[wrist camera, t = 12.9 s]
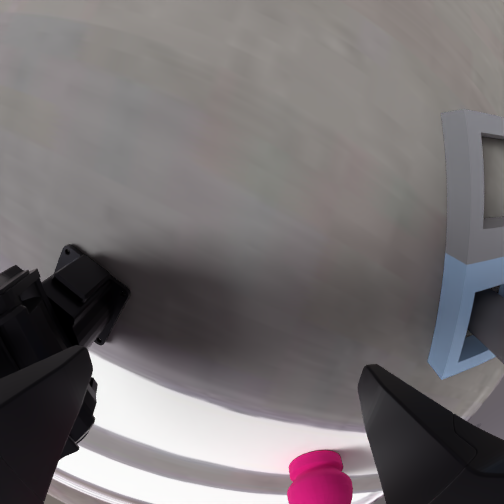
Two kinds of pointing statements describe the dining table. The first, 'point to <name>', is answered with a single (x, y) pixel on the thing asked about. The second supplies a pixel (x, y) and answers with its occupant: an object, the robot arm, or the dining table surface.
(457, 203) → the two-hole peg board
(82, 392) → the robot arm
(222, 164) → the dining table surface
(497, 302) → the plug
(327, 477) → the pepper mill
